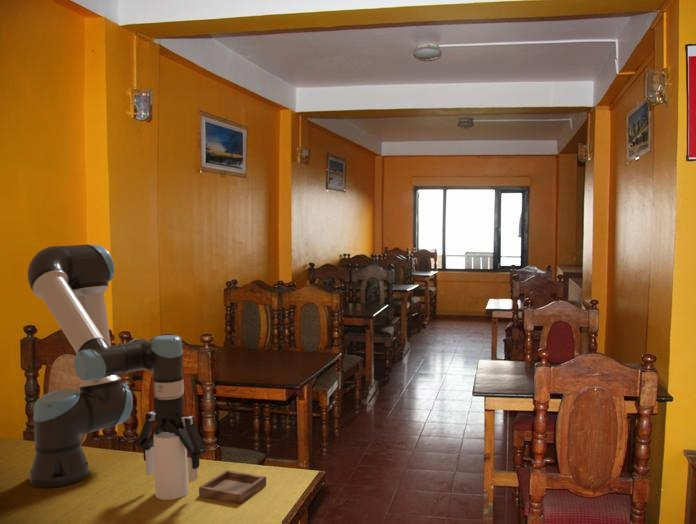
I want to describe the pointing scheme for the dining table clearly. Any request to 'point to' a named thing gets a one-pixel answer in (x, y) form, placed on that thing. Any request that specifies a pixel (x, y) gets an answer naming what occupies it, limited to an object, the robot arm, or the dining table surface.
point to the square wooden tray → (232, 486)
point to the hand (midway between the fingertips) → (171, 476)
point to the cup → (170, 466)
